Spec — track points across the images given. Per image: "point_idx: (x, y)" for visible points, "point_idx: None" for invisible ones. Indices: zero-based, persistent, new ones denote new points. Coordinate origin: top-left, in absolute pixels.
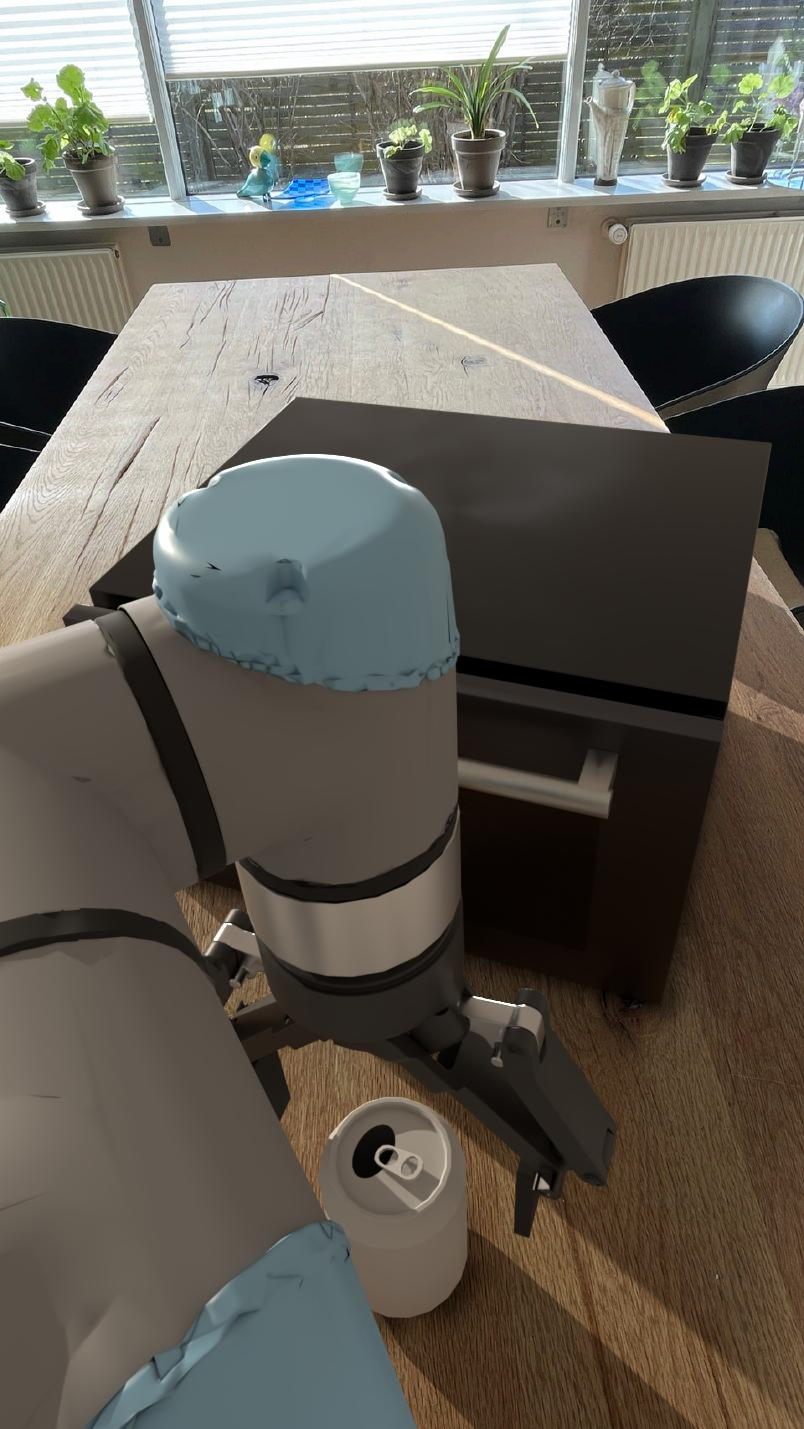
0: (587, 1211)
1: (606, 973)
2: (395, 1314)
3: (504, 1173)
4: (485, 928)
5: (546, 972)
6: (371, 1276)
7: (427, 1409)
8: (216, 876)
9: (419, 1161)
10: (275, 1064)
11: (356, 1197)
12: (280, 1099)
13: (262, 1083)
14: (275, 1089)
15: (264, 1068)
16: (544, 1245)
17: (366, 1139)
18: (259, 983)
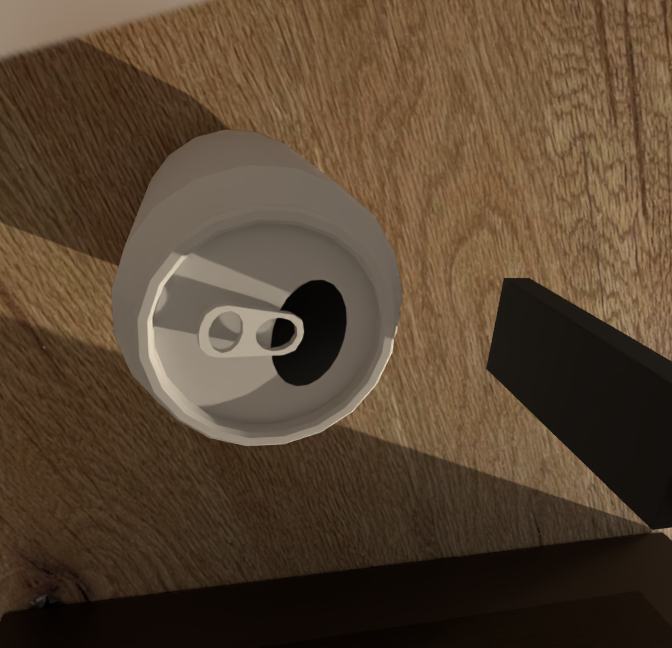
0: (5, 345)
1: (78, 638)
2: (214, 133)
3: None
4: (258, 640)
5: (168, 597)
6: (252, 146)
7: (132, 33)
8: (604, 554)
9: (208, 347)
10: (580, 438)
11: (314, 241)
12: (516, 363)
13: (609, 396)
14: (546, 383)
15: (625, 433)
16: (48, 285)
17: (329, 340)
18: (514, 457)
